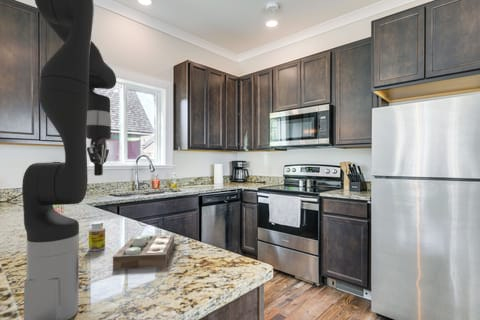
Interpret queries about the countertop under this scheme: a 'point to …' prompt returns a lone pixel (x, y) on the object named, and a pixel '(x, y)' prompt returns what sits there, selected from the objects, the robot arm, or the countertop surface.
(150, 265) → the brown wooden tray
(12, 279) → the countertop surface
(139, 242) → the button middle
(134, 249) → the button near
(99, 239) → the supplement bottle
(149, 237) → the button far
